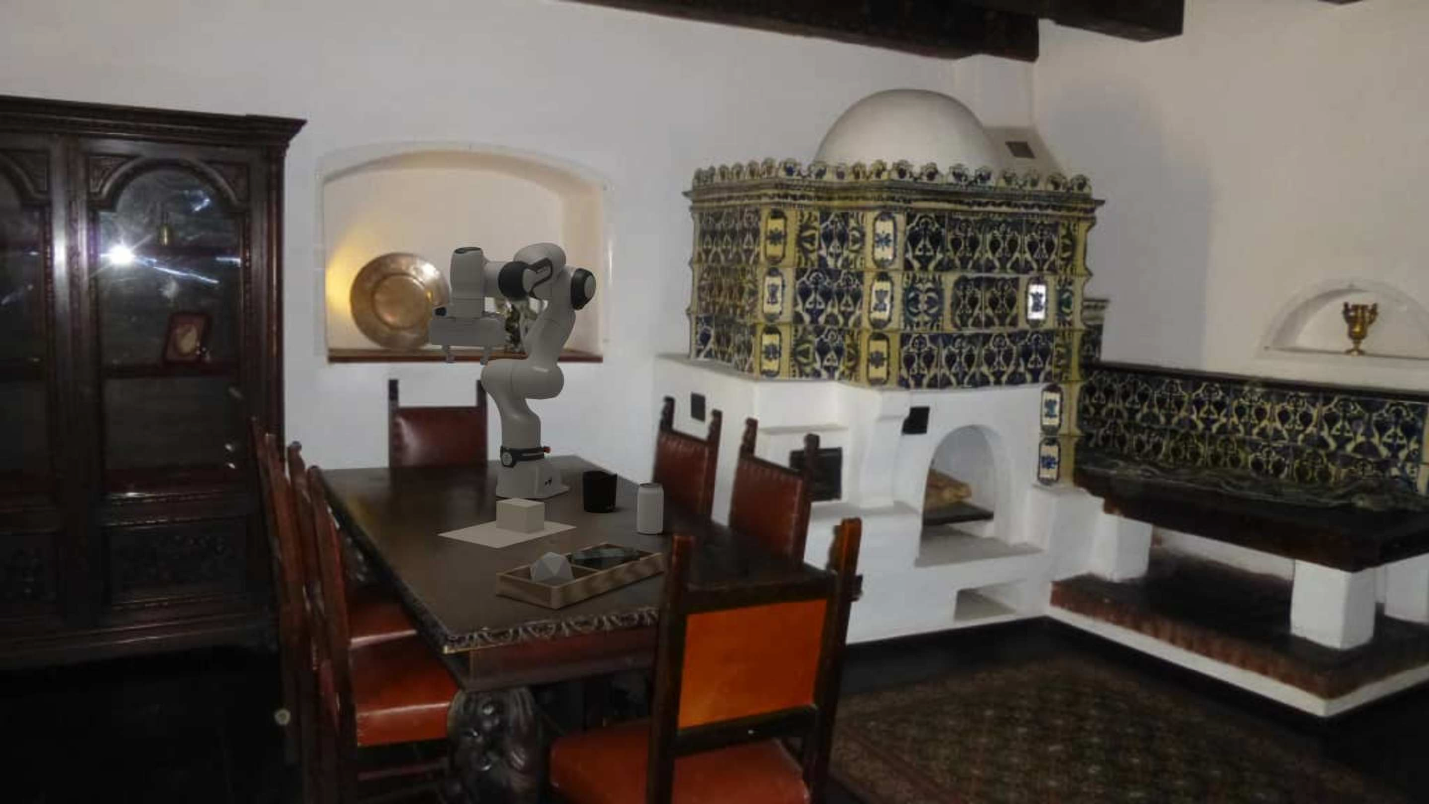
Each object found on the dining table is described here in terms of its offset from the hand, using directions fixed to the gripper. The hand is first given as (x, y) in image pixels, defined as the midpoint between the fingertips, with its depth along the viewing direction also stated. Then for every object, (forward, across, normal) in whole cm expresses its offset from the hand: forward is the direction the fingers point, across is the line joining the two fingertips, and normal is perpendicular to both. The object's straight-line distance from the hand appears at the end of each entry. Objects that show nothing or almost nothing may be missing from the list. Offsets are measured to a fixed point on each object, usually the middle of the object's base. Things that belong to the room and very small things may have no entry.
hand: (467, 364), depth 277 cm
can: (+40, -50, +2) cm, 64 cm away
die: (+40, -46, +59) cm, 85 cm away
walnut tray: (+40, -49, +50) cm, 81 cm away
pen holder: (+40, -31, -18) cm, 54 cm away
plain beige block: (+39, -20, +11) cm, 45 cm away
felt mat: (+40, -18, +15) cm, 46 cm away
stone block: (+40, -52, +44) cm, 79 cm away
